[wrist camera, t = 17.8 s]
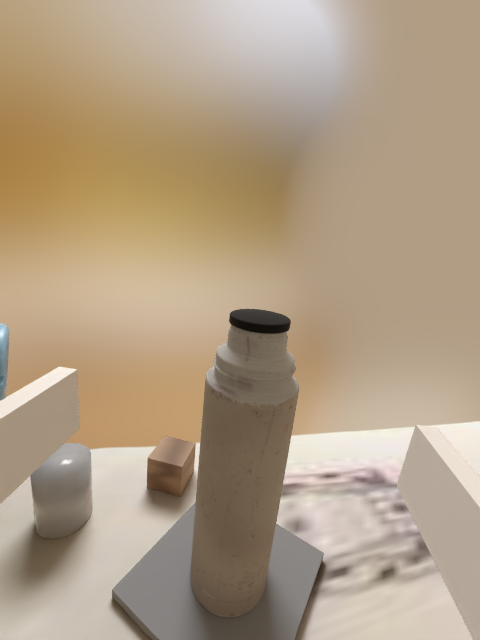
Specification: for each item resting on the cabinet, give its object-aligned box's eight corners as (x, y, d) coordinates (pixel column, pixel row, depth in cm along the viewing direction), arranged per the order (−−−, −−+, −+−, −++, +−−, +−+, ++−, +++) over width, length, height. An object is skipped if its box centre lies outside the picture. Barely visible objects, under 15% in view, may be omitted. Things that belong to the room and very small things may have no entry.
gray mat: (112, 597, 28) (112, 589, 28) (212, 490, 42) (212, 484, 41) (255, 752, 21) (257, 744, 20) (322, 559, 34) (323, 553, 34)
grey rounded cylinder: (25, 519, 35) (19, 463, 33) (75, 487, 40) (73, 436, 38) (52, 549, 32) (47, 490, 30) (102, 511, 37) (101, 457, 35)
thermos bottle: (219, 521, 36) (243, 299, 29) (278, 561, 32) (323, 316, 25) (173, 581, 29) (189, 310, 22) (241, 640, 26) (287, 336, 18)
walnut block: (146, 487, 41) (147, 457, 40) (163, 463, 46) (164, 435, 45) (180, 497, 40) (182, 466, 39) (193, 471, 45) (195, 443, 44)
